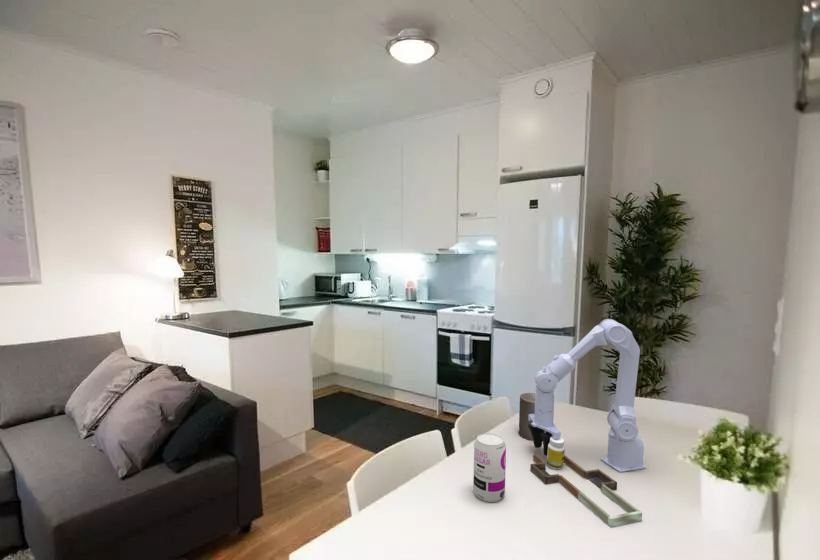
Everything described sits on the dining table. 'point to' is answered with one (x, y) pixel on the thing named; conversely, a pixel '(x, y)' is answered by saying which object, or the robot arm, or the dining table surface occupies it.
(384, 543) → the dining table surface
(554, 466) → the supplement bottle
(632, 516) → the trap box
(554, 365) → the robot arm
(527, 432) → the pillar candle
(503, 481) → the supplement can
